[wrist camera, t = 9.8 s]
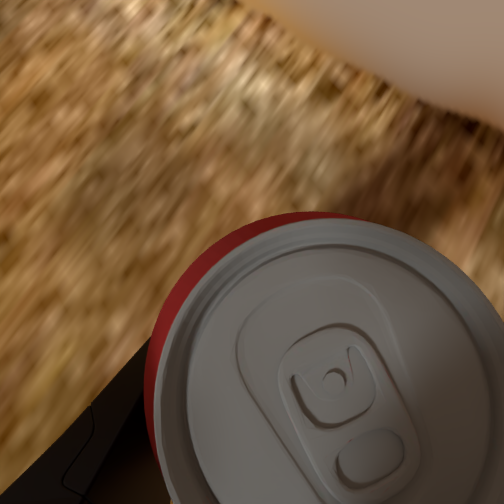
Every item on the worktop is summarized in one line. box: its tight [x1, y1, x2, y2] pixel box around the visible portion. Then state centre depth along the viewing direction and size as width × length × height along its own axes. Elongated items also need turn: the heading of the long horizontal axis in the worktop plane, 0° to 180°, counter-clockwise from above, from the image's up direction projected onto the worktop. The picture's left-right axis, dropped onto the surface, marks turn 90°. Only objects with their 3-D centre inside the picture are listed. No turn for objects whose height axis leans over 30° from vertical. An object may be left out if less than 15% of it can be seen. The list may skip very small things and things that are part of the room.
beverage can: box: [144, 212, 504, 504], centre depth 10 cm, size 7×7×12 cm
